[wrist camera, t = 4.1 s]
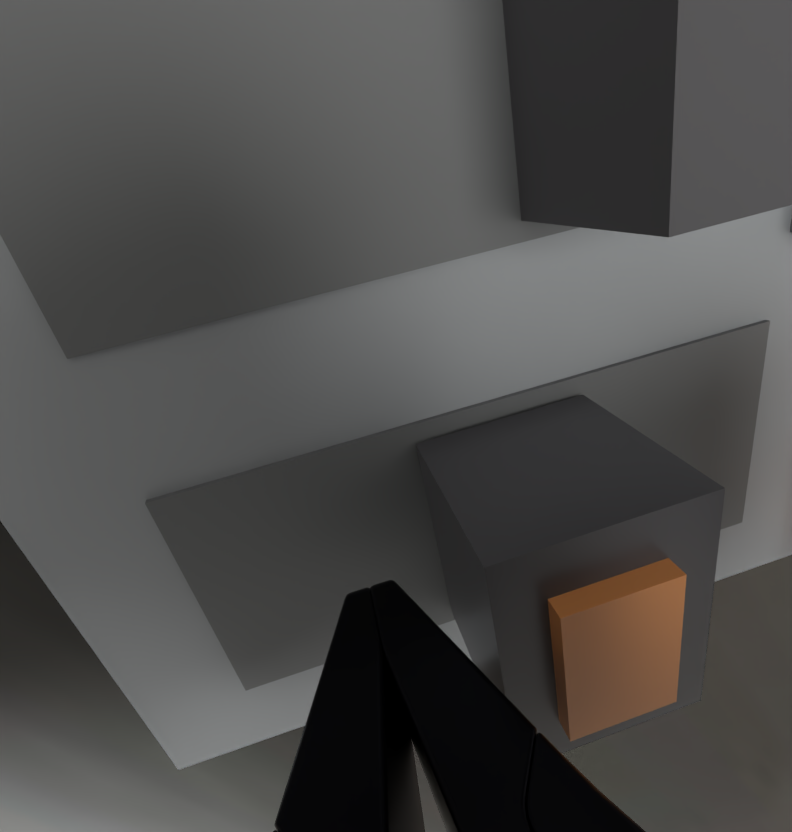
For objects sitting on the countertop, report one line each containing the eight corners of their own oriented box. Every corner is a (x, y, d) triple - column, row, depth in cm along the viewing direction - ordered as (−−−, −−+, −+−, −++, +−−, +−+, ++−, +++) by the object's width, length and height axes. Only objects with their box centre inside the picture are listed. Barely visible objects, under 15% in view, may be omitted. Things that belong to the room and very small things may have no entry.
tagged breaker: (582, 394, 8) (747, 502, 5) (589, 567, 10) (716, 718, 7) (416, 444, 8) (495, 587, 5) (453, 614, 10) (527, 792, 7)
